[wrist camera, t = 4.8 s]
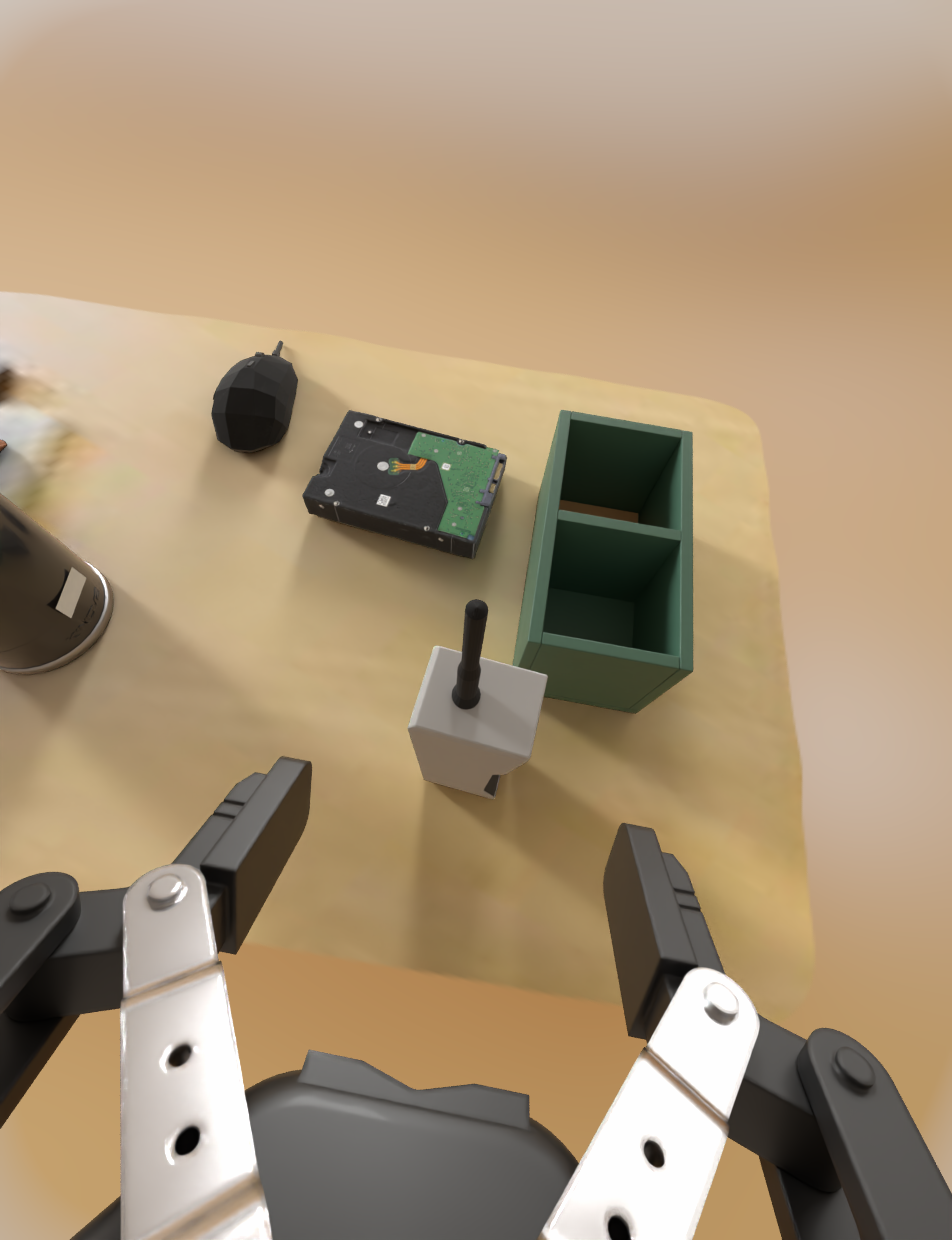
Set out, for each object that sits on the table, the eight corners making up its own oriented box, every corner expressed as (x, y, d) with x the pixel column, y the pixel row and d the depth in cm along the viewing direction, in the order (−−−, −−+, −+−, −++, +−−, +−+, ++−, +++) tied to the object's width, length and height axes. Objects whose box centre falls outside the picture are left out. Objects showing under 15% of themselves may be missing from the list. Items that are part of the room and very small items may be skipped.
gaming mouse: (312, 347, 52) (302, 309, 49) (280, 460, 46) (266, 427, 42) (250, 341, 52) (235, 302, 48) (209, 454, 46) (189, 420, 42)
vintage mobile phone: (493, 800, 35) (580, 706, 12) (423, 780, 35) (382, 653, 13) (506, 746, 37) (604, 576, 14) (439, 728, 37) (427, 531, 14)
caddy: (508, 690, 38) (527, 641, 30) (538, 494, 46) (560, 409, 37) (636, 713, 38) (693, 671, 29) (644, 513, 46) (693, 431, 37)
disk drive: (308, 519, 44) (476, 562, 43) (299, 498, 41) (477, 543, 40) (352, 431, 48) (506, 468, 47) (346, 407, 46) (509, 446, 44)
